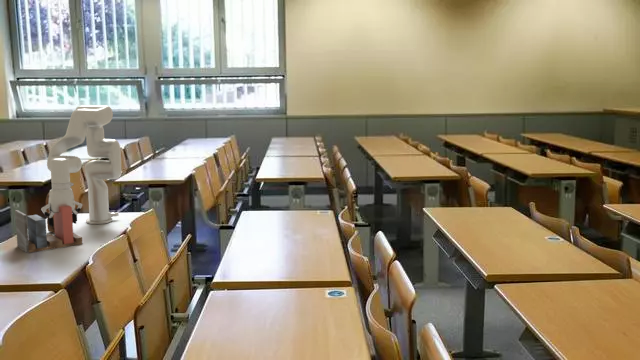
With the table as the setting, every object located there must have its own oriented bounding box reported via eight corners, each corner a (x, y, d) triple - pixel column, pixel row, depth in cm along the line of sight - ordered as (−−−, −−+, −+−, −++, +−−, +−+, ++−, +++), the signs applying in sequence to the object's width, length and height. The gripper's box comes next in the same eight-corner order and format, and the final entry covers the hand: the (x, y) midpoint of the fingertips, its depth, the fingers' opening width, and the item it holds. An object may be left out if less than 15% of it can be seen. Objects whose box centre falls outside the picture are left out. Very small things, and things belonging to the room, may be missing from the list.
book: (64, 237, 273) (62, 202, 270) (73, 242, 264) (71, 206, 261) (55, 238, 270) (53, 203, 268) (64, 244, 261) (62, 208, 259)
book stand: (71, 237, 276) (69, 203, 273) (82, 244, 266) (80, 208, 263) (17, 246, 261) (14, 209, 258) (26, 253, 251) (24, 215, 248)
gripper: (78, 183, 272) (79, 220, 274) (37, 187, 260) (39, 225, 263) (84, 185, 266) (86, 223, 269) (43, 189, 255) (45, 229, 257)
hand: (63, 224), depth 266 cm, fingers open, 9 cm apart
